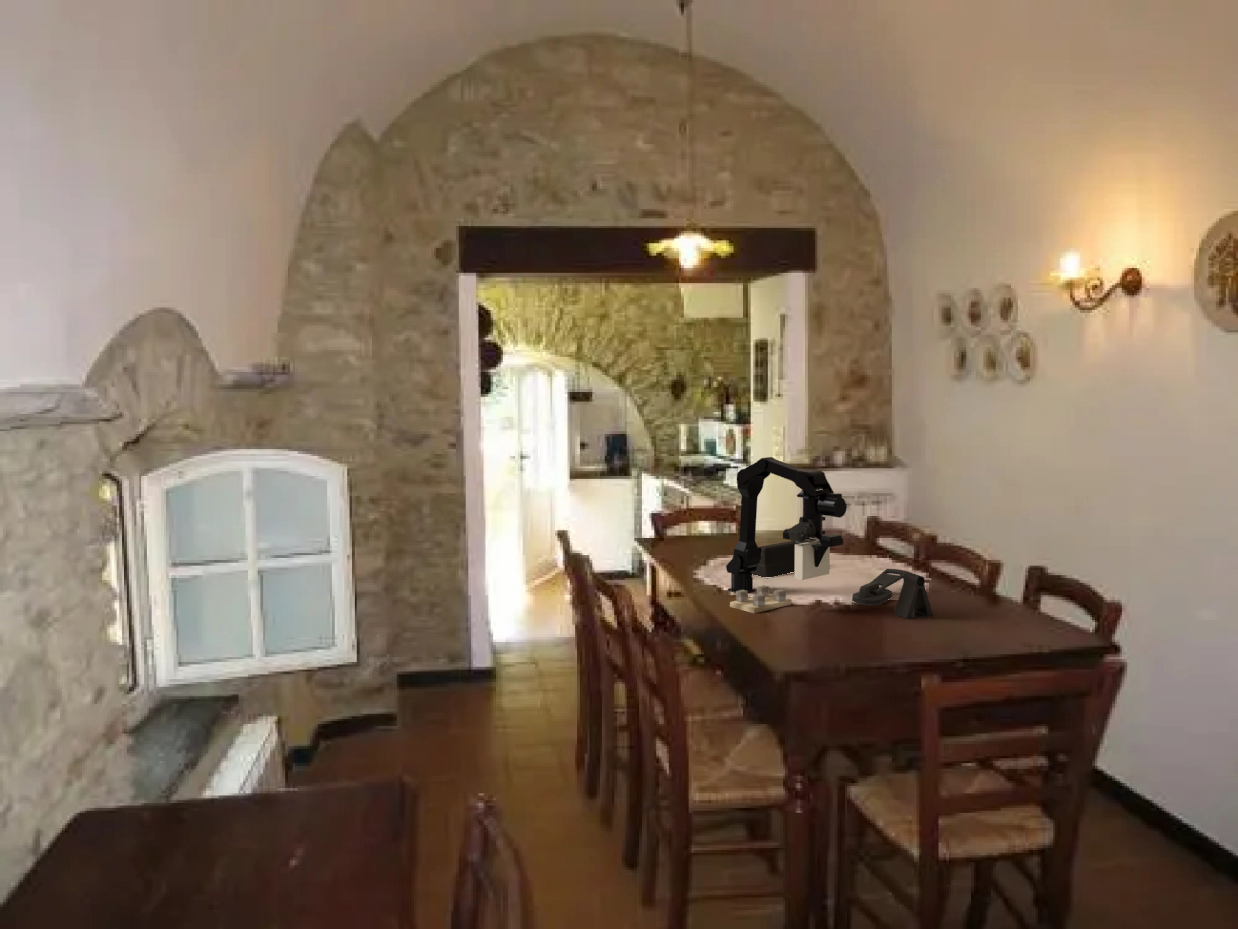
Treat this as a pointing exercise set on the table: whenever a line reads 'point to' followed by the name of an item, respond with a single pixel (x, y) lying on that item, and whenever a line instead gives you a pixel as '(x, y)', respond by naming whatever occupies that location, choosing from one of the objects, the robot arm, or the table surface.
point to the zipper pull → (878, 588)
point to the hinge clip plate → (762, 608)
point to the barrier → (776, 560)
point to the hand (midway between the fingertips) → (812, 565)
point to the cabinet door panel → (809, 562)
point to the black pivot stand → (913, 598)
